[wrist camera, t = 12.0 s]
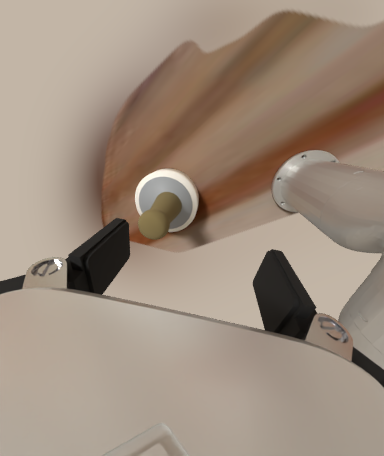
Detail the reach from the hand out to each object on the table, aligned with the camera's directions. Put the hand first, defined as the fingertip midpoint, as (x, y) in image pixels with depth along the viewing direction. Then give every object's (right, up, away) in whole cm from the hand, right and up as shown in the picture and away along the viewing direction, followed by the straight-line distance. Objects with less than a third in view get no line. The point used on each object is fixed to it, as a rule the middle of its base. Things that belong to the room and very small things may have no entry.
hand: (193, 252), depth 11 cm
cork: (-5, +7, +24) cm, 26 cm away
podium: (-5, +9, +28) cm, 30 cm away
